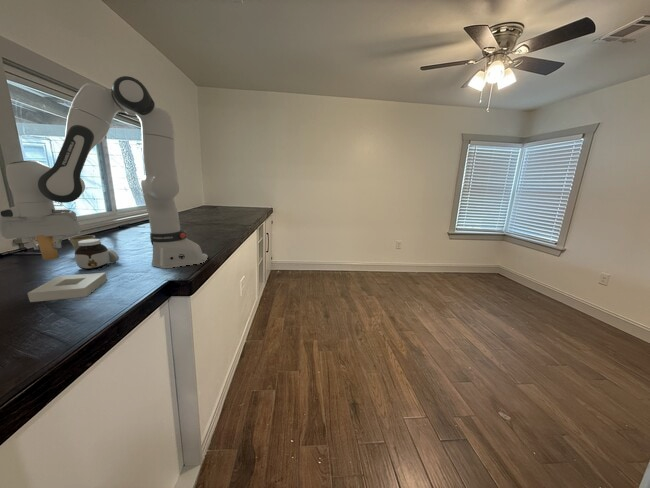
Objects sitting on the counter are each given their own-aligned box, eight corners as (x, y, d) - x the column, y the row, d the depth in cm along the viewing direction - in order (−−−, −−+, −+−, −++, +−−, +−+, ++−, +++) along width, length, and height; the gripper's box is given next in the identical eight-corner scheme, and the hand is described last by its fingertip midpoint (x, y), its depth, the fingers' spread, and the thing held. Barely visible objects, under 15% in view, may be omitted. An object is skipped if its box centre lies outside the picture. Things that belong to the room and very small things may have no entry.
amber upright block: (61, 256, 95) (54, 232, 93) (54, 259, 91) (47, 234, 89) (48, 257, 94) (40, 233, 92) (40, 260, 90) (32, 235, 88)
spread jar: (74, 271, 103) (67, 243, 100) (91, 262, 114) (85, 237, 111) (110, 269, 106) (104, 242, 103) (122, 260, 117) (118, 235, 114)
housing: (107, 280, 95) (105, 272, 95) (86, 296, 82) (84, 287, 82) (59, 284, 91) (57, 276, 90) (30, 302, 78) (27, 293, 77)
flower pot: (77, 253, 126) (73, 236, 124) (101, 251, 130) (98, 234, 128) (68, 258, 118) (64, 240, 116) (94, 256, 122) (90, 238, 120)
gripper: (79, 207, 94) (88, 244, 98) (5, 210, 88) (18, 248, 92) (68, 210, 88) (79, 248, 92) (-11, 212, 82) (3, 253, 86)
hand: (48, 248), depth 92 cm, fingers closed on amber upright block, 4 cm apart
